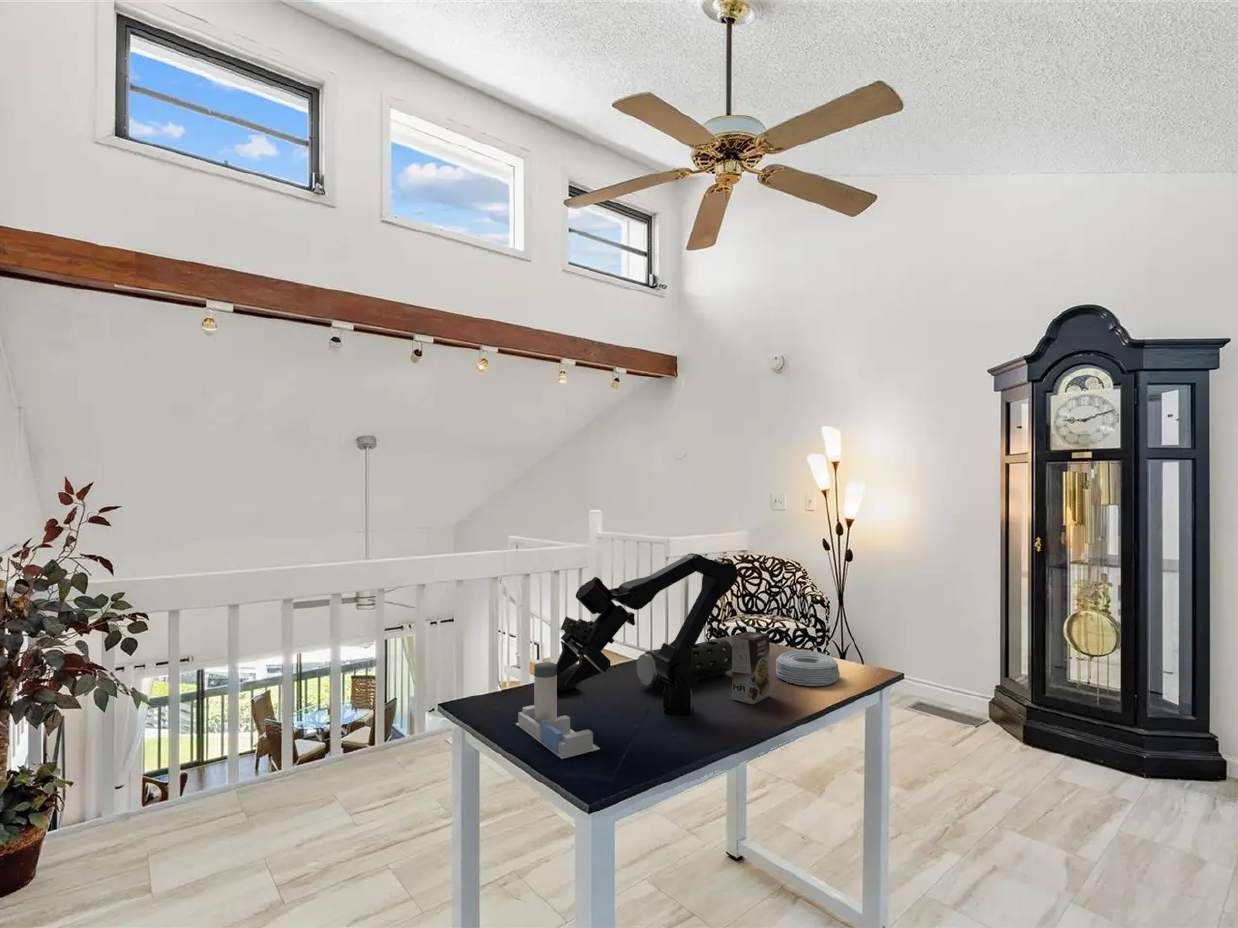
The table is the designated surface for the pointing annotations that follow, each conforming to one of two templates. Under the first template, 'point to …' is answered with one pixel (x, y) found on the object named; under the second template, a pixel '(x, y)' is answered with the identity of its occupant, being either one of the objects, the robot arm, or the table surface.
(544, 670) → the white capped cylinder
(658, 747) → the table surface
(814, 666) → the cable
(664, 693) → the robot arm
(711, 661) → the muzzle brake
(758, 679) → the cookie box
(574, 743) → the white slotted stand
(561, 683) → the black piece
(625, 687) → the table surface
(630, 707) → the table surface
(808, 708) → the table surface
